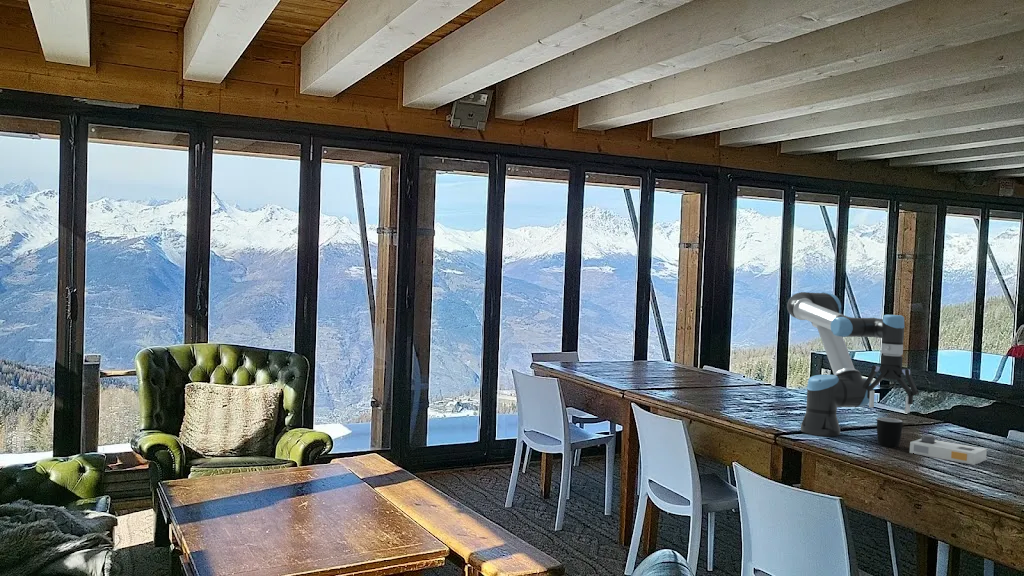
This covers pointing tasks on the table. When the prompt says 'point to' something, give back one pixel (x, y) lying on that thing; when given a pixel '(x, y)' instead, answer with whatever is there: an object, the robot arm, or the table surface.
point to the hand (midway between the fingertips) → (889, 410)
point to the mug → (889, 432)
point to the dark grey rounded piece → (928, 439)
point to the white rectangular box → (949, 451)
